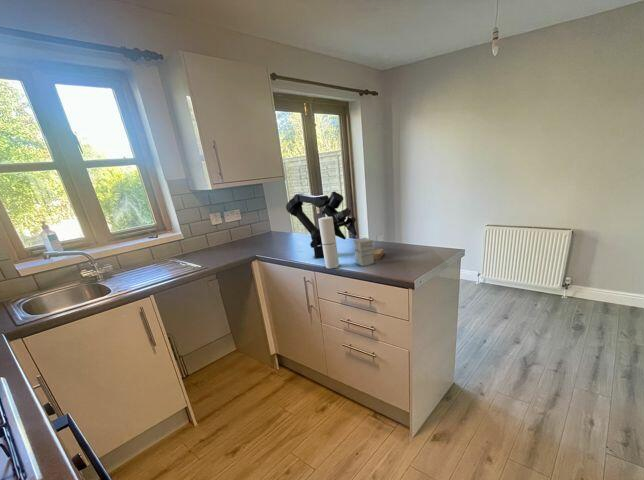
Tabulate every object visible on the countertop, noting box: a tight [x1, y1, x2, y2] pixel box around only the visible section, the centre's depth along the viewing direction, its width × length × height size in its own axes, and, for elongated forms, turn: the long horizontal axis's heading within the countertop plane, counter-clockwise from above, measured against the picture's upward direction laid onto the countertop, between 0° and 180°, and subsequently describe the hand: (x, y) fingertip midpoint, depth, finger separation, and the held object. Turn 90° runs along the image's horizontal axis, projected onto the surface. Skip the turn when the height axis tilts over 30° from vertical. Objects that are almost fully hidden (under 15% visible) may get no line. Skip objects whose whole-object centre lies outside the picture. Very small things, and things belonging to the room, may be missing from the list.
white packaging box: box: [353, 237, 375, 267], centre depth 161 cm, size 7×7×13 cm
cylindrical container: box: [317, 216, 340, 270], centre depth 159 cm, size 7×7×25 cm
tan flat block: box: [373, 248, 385, 260], centre depth 173 cm, size 11×10×3 cm
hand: (350, 236), depth 163 cm, fingers open, 9 cm apart
